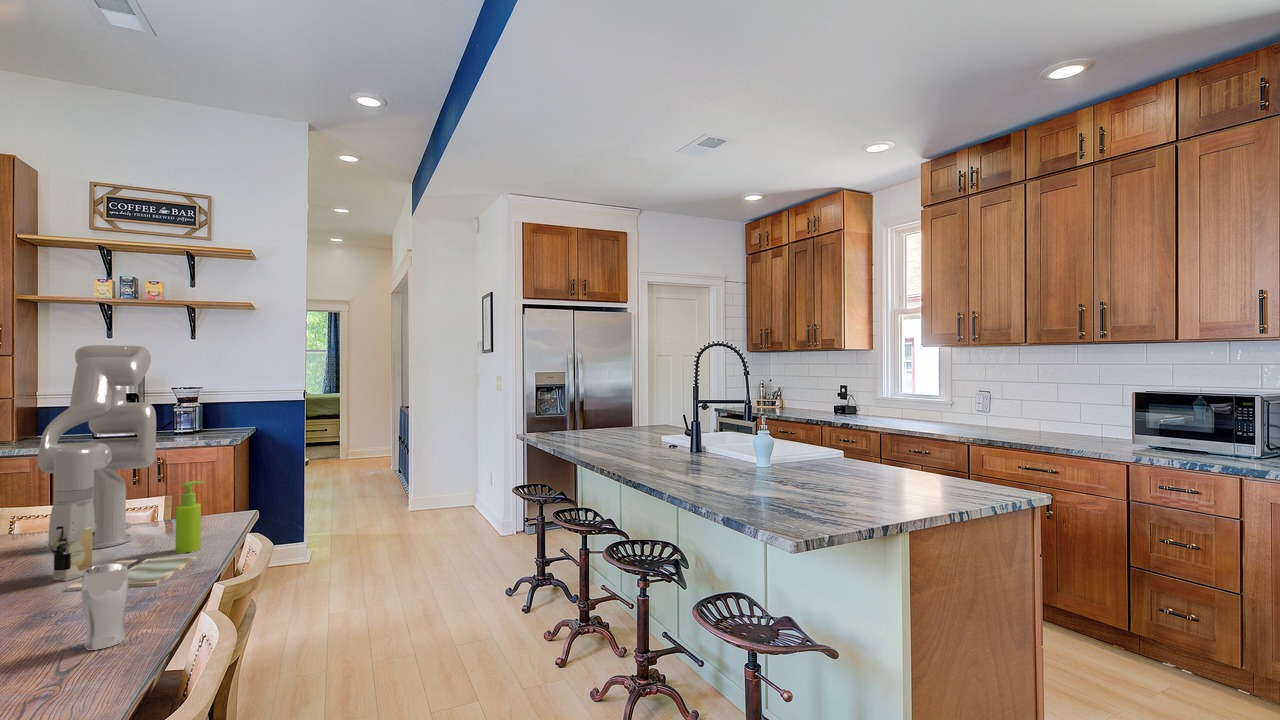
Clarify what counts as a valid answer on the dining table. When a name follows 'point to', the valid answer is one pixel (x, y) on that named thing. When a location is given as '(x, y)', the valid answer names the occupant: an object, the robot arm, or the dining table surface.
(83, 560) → the skincare box
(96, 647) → the beer glass
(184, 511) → the soap dispenser
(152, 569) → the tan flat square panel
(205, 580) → the dining table surface
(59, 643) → the dining table surface
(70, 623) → the dining table surface
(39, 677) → the dining table surface
